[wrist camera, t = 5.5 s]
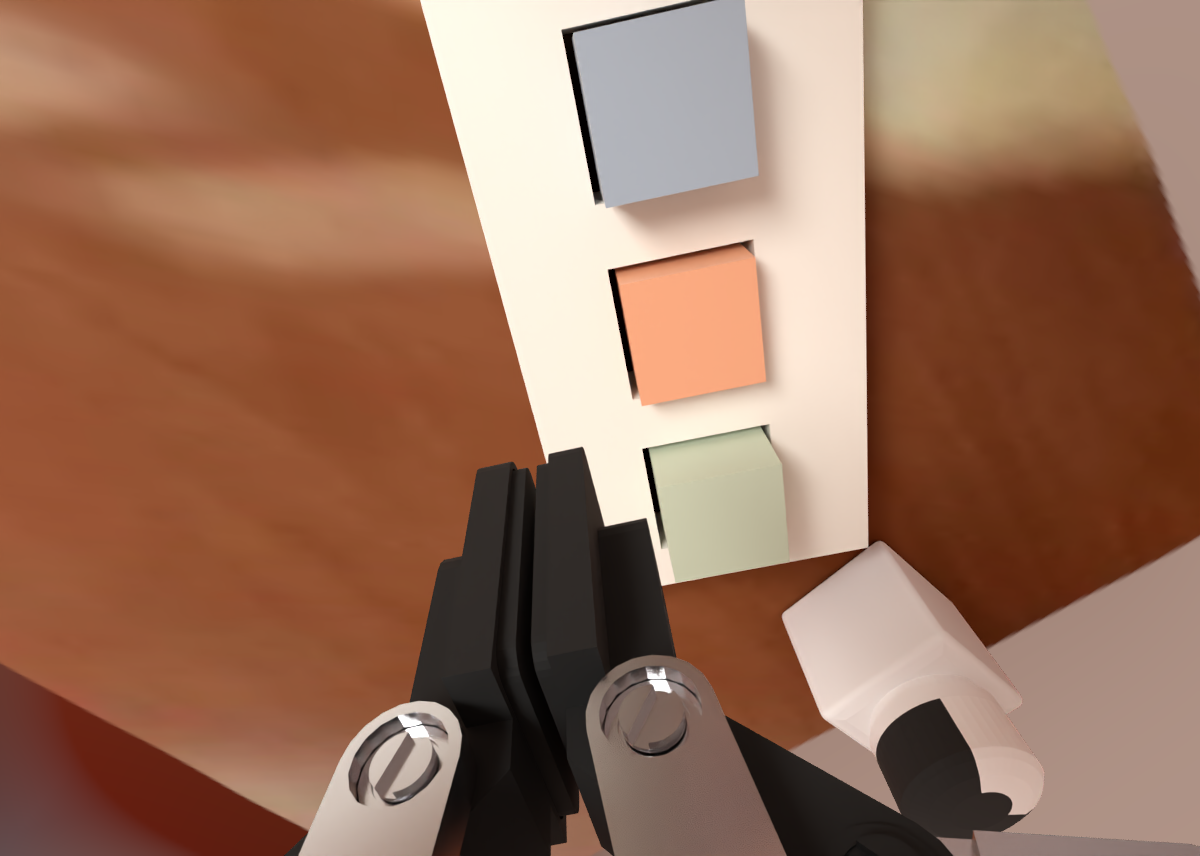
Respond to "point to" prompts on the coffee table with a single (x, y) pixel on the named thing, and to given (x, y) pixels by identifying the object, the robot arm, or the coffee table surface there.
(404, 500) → the coffee table surface
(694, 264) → the key terracotta
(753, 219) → the key board
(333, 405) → the coffee table surface
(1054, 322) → the coffee table surface
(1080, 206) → the coffee table surface
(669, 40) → the key slate
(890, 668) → the medicine bottle
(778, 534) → the key sage
